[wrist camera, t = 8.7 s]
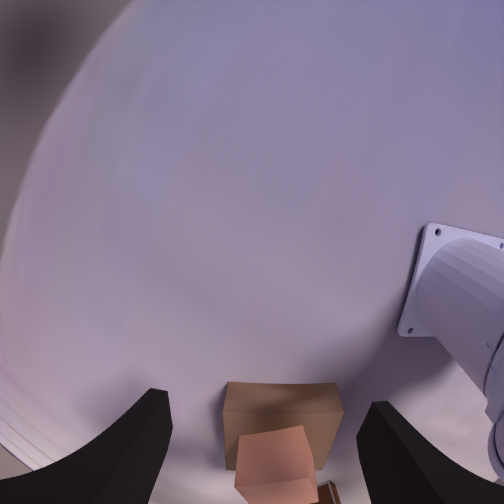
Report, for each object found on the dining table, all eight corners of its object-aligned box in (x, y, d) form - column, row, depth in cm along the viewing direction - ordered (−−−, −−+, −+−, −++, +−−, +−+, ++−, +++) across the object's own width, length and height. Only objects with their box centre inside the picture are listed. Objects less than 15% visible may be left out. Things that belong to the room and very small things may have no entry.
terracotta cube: (302, 425, 17) (309, 477, 13) (312, 456, 18) (318, 501, 14) (239, 436, 17) (234, 486, 13) (257, 465, 18) (255, 510, 14)
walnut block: (334, 379, 20) (344, 411, 16) (317, 441, 22) (321, 470, 19) (228, 378, 20) (222, 411, 17) (229, 440, 22) (226, 469, 19)
